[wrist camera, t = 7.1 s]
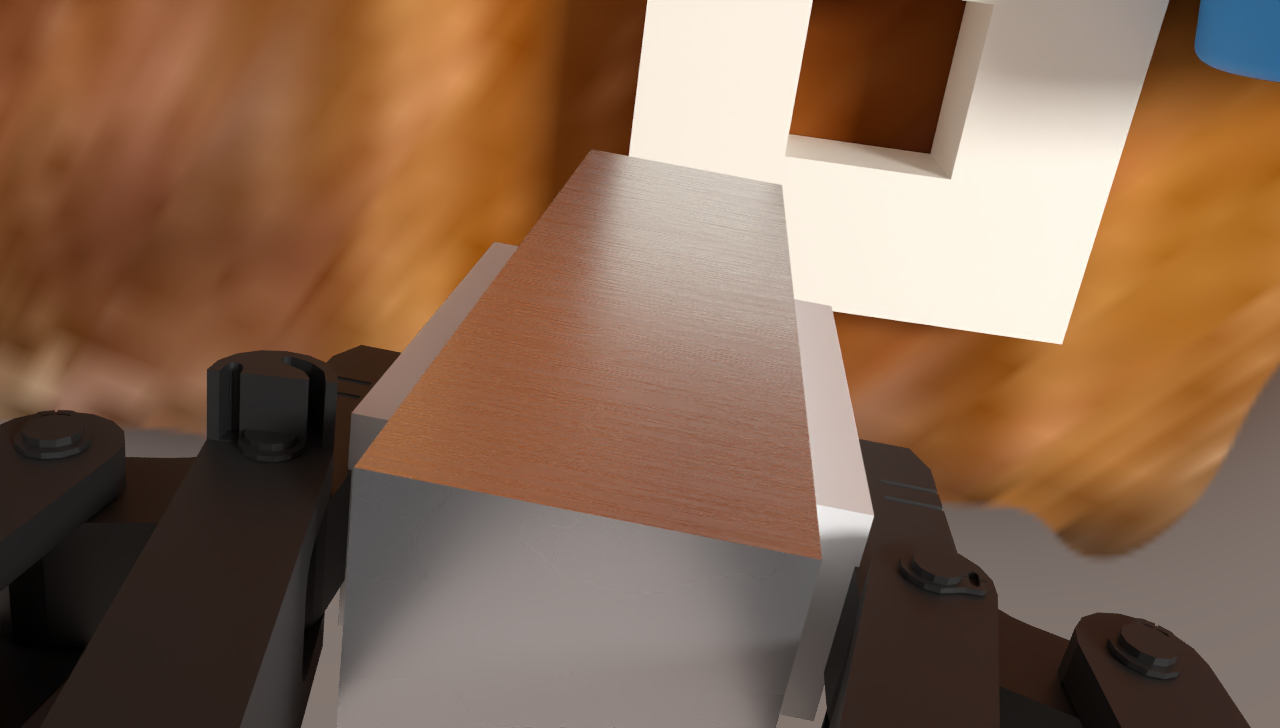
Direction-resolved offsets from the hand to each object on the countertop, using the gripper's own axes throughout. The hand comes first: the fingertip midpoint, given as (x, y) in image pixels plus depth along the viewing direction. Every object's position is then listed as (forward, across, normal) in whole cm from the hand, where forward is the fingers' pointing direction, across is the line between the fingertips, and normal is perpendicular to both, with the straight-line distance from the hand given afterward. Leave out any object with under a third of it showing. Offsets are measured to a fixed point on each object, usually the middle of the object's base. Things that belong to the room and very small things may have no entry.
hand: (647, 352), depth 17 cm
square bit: (+6, 0, 0) cm, 6 cm away
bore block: (+24, +5, +3) cm, 24 cm away
